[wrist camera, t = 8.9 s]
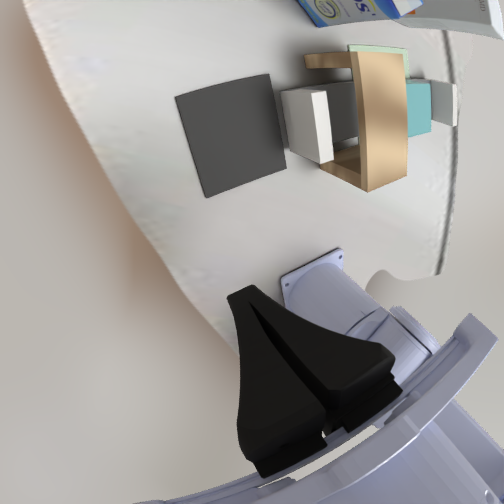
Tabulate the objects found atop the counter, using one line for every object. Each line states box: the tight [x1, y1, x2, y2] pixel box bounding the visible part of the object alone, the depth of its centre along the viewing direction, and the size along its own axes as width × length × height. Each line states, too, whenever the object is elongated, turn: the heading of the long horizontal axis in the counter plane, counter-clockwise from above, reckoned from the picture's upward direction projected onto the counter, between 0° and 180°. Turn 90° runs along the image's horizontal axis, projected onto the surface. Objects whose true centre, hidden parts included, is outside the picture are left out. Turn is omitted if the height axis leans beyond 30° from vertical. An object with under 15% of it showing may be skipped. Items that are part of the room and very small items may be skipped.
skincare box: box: [391, 0, 504, 40], centre depth 12 cm, size 6×4×12 cm
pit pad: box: [176, 74, 287, 198], centre depth 19 cm, size 8×7×1 cm
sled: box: [280, 79, 457, 164], centre depth 20 cm, size 5×21×4 cm, turn 103°
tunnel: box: [304, 51, 408, 193], centre depth 19 cm, size 10×5×6 cm, turn 13°
